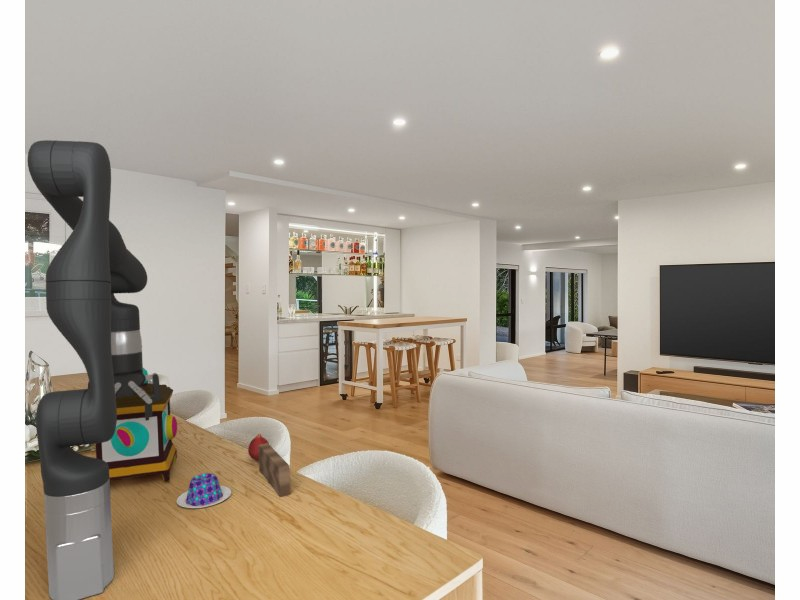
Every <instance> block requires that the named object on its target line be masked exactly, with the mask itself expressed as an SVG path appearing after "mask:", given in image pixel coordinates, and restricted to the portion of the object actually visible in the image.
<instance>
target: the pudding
mask: <svg viewBox="0 0 800 600" xmlns="http://www.w3.org/2000/svg"><path fill="white" fill-rule="evenodd" d="M231 495H232V489H231V488H230V487H227V486H224V485H220V482H219V479H218V476H217V475H216V474H215V473H208V472H205V473H201V474H197V475H196V476H193V477H192V478H191V479H190V481H189V486H188V490H187V491H185V492H183V493H182V494H181V495H179V496H178V497H177V499H176V504H177V505H178V506H180V507H183V508H187V509H198V508H199V509H201V508H207V507H210V506H213V505H217V504H219V503H222V502H223V501H225V500H227V499H228V498H229V497H230V496H231Z"/></svg>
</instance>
